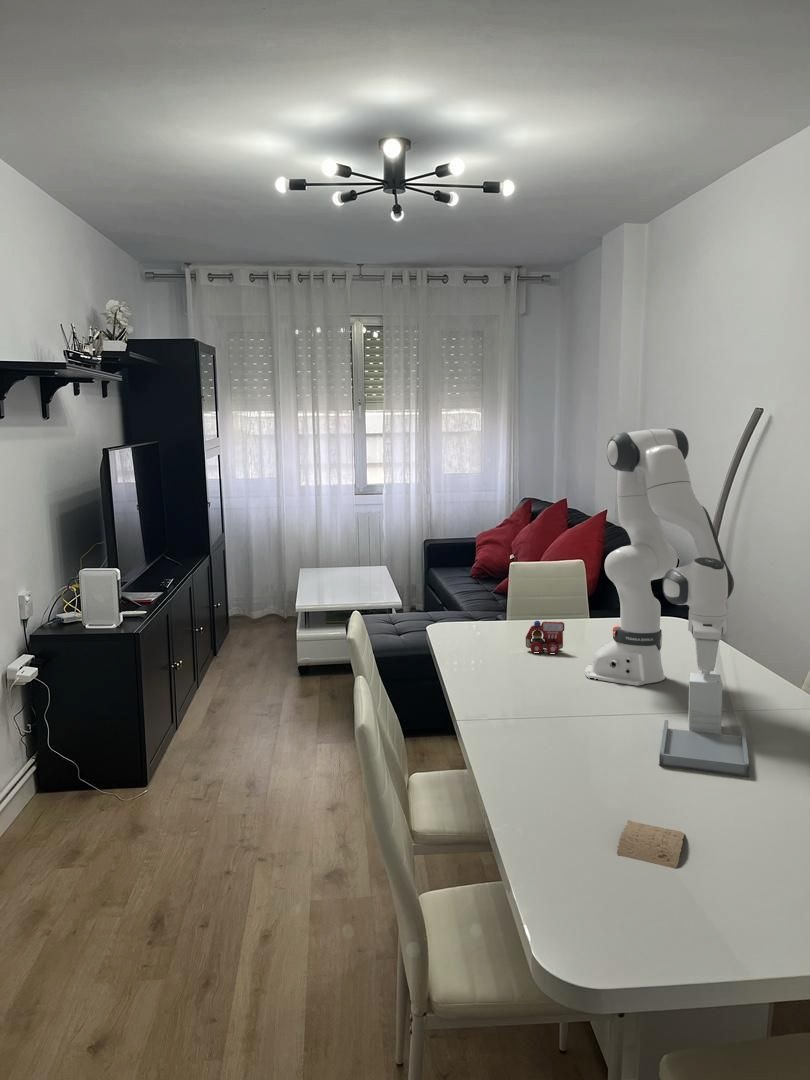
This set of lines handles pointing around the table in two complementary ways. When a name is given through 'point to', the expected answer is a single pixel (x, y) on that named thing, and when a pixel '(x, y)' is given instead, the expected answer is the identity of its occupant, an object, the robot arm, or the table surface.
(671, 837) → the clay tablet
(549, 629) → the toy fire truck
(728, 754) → the tray
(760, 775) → the table surface
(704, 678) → the supplement box
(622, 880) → the table surface
